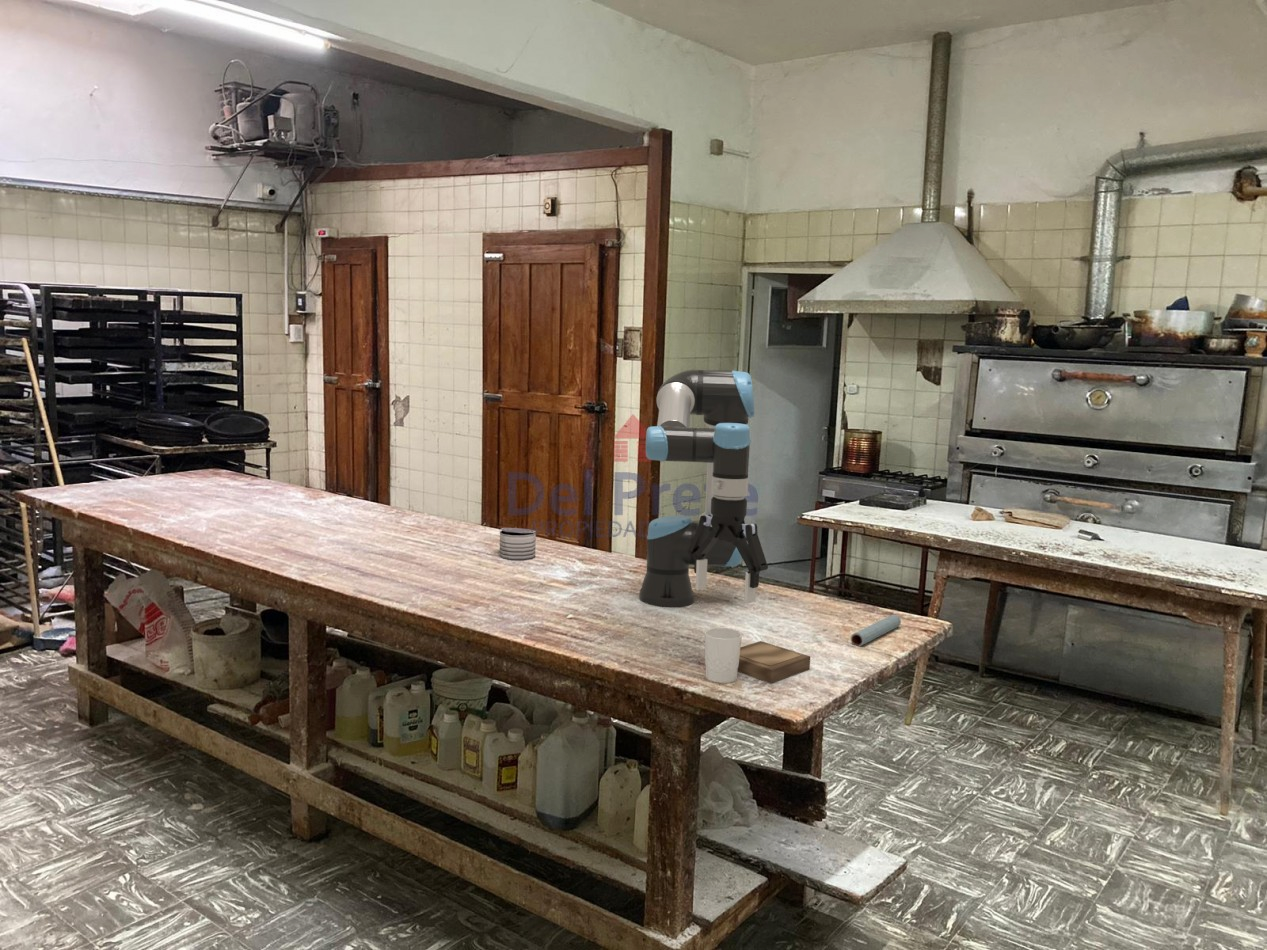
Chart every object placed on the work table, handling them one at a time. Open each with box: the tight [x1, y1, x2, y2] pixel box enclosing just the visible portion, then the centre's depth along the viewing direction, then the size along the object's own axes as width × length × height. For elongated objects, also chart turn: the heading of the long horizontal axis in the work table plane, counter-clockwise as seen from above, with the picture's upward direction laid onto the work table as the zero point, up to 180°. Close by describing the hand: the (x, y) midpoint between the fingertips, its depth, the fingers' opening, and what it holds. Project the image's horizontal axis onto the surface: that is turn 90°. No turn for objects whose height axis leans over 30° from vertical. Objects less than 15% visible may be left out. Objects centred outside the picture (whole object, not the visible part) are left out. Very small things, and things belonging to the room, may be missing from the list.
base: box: [737, 640, 811, 684], centre depth 211 cm, size 14×14×3 cm
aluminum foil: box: [850, 614, 902, 647], centre depth 237 cm, size 23×7×3 cm, turn 141°
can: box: [498, 527, 537, 562], centre depth 298 cm, size 11×11×12 cm
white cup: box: [704, 627, 743, 684], centre depth 203 cm, size 8×8×10 cm
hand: (724, 595), depth 201 cm, fingers open, 13 cm apart
